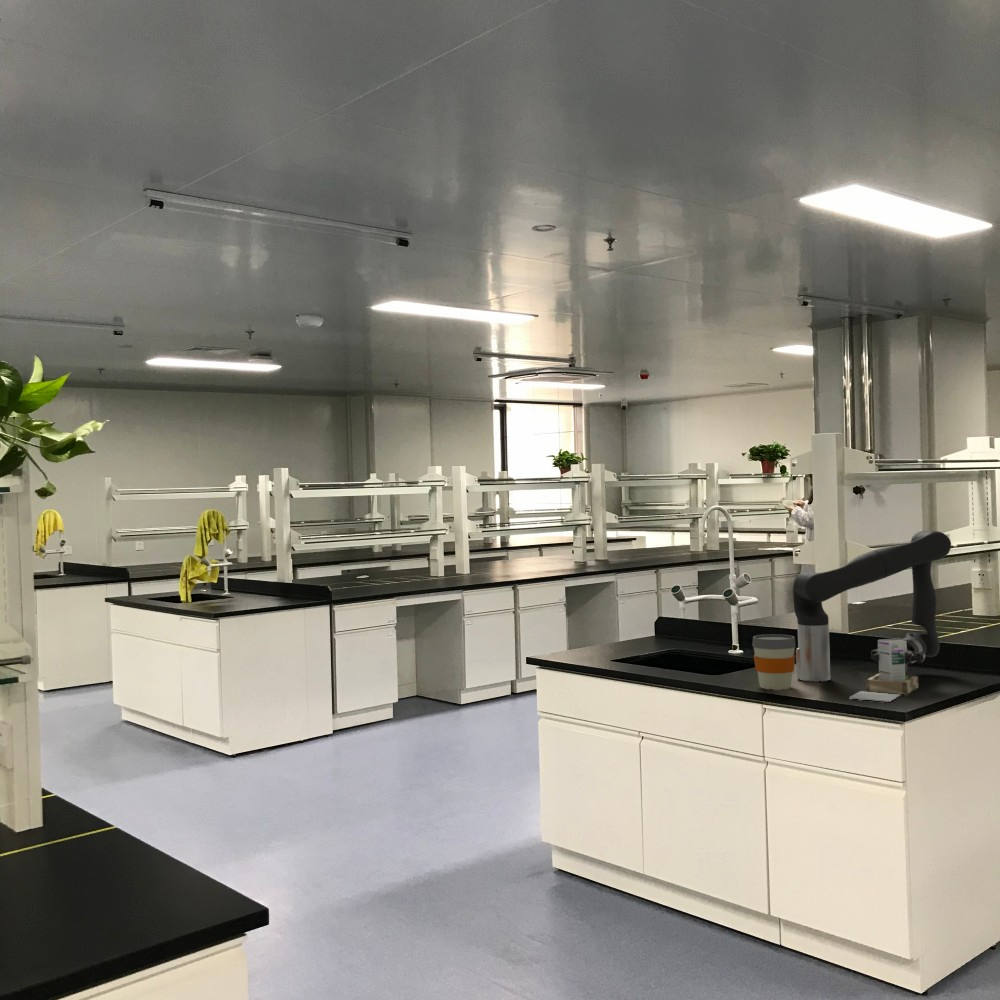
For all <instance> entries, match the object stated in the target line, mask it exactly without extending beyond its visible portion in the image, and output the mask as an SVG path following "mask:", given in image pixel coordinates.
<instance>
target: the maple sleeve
mask: <svg viewBox="0 0 1000 1000" xmlns="http://www.w3.org/2000/svg"><path fill="white" fill-rule="evenodd" d="M865 681H866V684H865V687H866V692H867V691H874V692H888V693H889V692H890V693H898V694H908V693H910V692H911V691H913V690H914V689H916V688H918V689H919V676H918V675H913V676H911V677H909V678H908V680H906V681H905V682H895V681H882V680H880V679H879V673H876V674H874V675H873V676H870V677H869V678H867V679H866V680H865ZM916 690H917V689H916ZM914 691H915V690H914ZM914 691H913V692H914ZM911 693H912V692H911ZM911 693H910V694H911ZM908 695H909V694H908Z"/></svg>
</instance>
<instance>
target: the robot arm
mask: <svg viewBox="0 0 1000 1000" xmlns="http://www.w3.org/2000/svg"><path fill="white" fill-rule="evenodd" d="M951 548H952V541H951V538H950V537H949V536H948V535H947V534H945V533H944V532H940V531H937V530H922V531H918V532H916V533H915V534H914V535H913V536H912V538H911V539H910V542H907V543H904V544H899V545H891V546H886V547H881V548H877V549H874V550H870V551H867V552H865V553H862V554H859V555H857V556H855V557H854V558H852V559H851V560H850V561H848V562H847V563H845V564H844V565H843V566H841V567H837V568H835V569H831V570H827V571H823V572H816V571H814V572H813V571H803V572H801V573H799V574H798V575H797V576H796V577H795V579H794V581H793V587H792V590H793V591H792V594H793V608H794V614H795V616H796V621H797V642H798V643H797V646H798V647H796V649H795V660H796V661H795V664H796V680H799V679H800V680H801V681H804V682H814V683H815V682H816V683H817V682H819V681H821V682H828V680H829V681H830V680H831V659H830V658H831V657H830V656H831V655H830V654H831V652H830V651H831V650H830V629H829V627H830V625H829V622H830V621H829V616H828V614H827V612H826V611H825V610H824V608H823V602H825V601H828V600H829V599H831V598H834V597H836V596H837V595H839V594H842V593H843V592H846V591H848V590H851V589H855V588H859V587H862V586H866V585H868V584H872V583H874V582H877V581H879V580H883V579H885V578H888V577H890V576H893V575H896V574H898V573H900V572H903V571H905V570H907V569H910V568H911V572H912V587H913V588H912V589H913V590H912V605H911V606H912V607H911V617H910V619H911V620H910V621H911V623H912V624H914V625H916V626H918V627H921V628H923V629H924V630H925V632H926V633H922V632H921V633H920V632H907V633H906V634H905V636H904V638H902V639H903V640H906V643H907V655H906V656H905V664H907V666H911V665H912V664H914V663H918V664H920V663H921V664H922V663H923V662H924V661H925V660H926V657H928V658H934V657H936V656H937V655H938V654H939V652H940V649H941V647H940V646H941V645H940V639H939V635H938V631H937V626H936V617H937V616H936V615H937V605H938V604H937V594H936V591H935V587H934V583H933V580H932V573H931V572H932V562H935V561H940V560H943V558H945V557H946V556H948V554H949V553H950V551H951ZM870 654H871V660H873V661H874V662H878V663H879V657H878V648H876V649H872V650H871V652H870Z"/></svg>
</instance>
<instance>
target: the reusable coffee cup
mask: <svg viewBox="0 0 1000 1000" xmlns="http://www.w3.org/2000/svg"><path fill="white" fill-rule="evenodd" d="M752 647H753V652H754V655H753V661H754V665H755V666H754V667H755V671H756V672H757V675H758V676H757V677H758V683H759V688H760V687H761V689H763V688H764V689H765V690H769V689H773V690H772V691H774V690H775V691H783V689H784V690H789V689H791V687H792V679H793V672H794V671H795V664H796V661H795V660H796V655H795V650H796V649H795V648H797V647H796V638H795V636H793V635H789V634H775V633H774V634H773V633H771V634H768V633H767V634H757V635H753V637H752ZM764 689H763V690H764Z"/></svg>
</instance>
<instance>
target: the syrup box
mask: <svg viewBox="0 0 1000 1000" xmlns="http://www.w3.org/2000/svg"><path fill="white" fill-rule="evenodd" d="M903 639H904V638H898V637H897V638H895V637H894V638H885V639H884V638H883V639H878V640H877V649H878V657H879V661H878V672H879V679H880V680H882V681H895V682H905V681H906V680H908V679H909V675H908V674H909V672H908V671H909V670H908V669H909V668H908V665H907V664H905V656H906V655H907V643H906V640H903Z"/></svg>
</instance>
